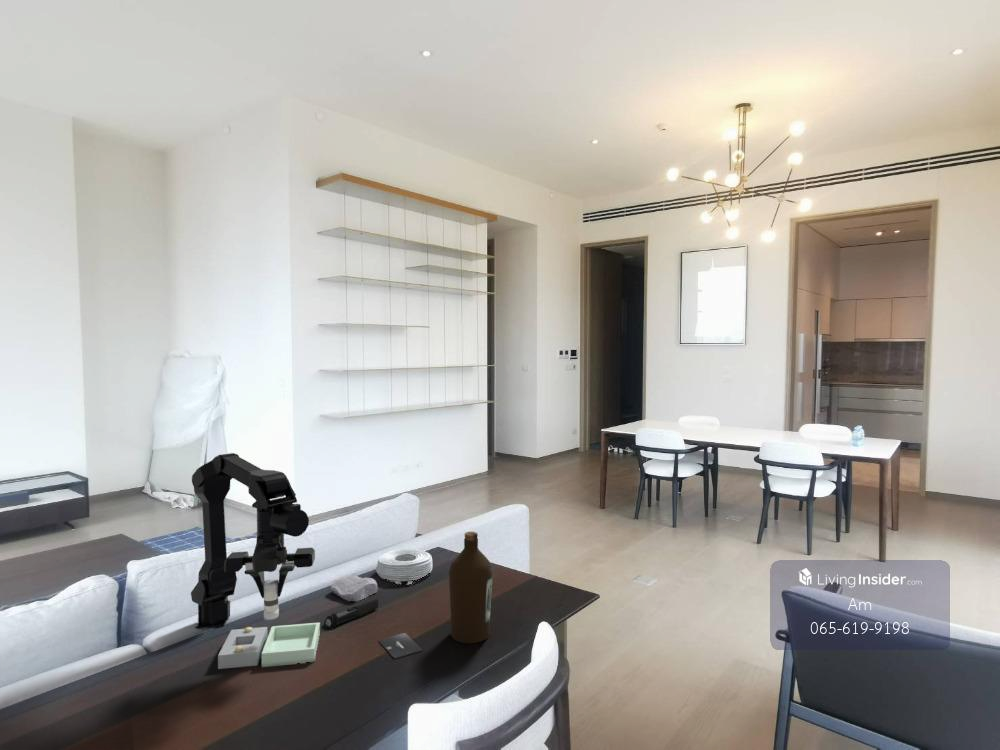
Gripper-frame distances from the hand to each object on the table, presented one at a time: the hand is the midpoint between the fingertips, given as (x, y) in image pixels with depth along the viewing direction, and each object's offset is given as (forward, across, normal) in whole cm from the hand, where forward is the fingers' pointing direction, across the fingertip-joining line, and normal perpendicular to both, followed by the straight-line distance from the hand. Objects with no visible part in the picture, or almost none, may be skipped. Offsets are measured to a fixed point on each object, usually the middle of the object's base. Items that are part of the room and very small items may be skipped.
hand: (271, 596), depth 132 cm
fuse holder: (+13, -6, +1) cm, 14 cm away
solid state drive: (+14, +29, -2) cm, 32 cm away
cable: (+13, +31, +44) cm, 56 cm away
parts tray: (+13, +4, 0) cm, 14 cm away
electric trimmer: (+13, +17, +15) cm, 26 cm away
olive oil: (+14, +46, +1) cm, 48 cm away
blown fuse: (+4, 0, 0) cm, 4 cm away
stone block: (+13, +16, +31) cm, 37 cm away
